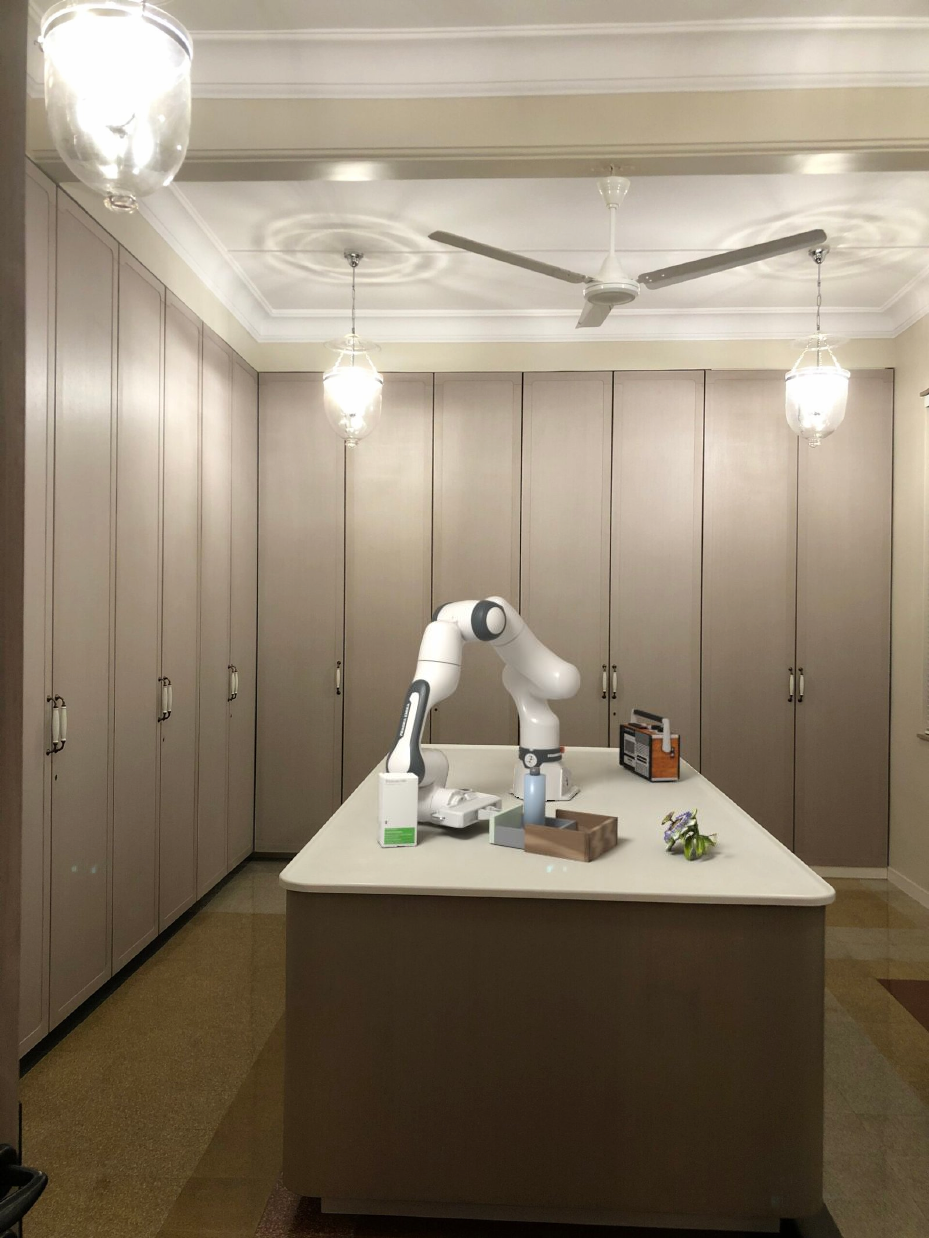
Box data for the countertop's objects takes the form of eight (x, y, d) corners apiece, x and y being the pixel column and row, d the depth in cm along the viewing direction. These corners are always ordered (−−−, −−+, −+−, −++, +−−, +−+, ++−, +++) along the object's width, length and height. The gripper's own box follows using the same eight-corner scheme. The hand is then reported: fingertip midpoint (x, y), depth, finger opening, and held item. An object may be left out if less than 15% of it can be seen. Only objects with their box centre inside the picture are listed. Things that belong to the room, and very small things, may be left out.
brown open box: (556, 834, 203) (557, 808, 203) (617, 843, 195) (617, 817, 195) (524, 851, 188) (524, 824, 188) (588, 862, 180) (588, 833, 180)
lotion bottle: (529, 832, 200) (529, 765, 200) (548, 835, 197) (549, 767, 197) (519, 837, 195) (520, 768, 195) (539, 840, 193) (540, 770, 193)
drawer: (518, 829, 206) (518, 803, 206) (576, 838, 199) (576, 811, 199) (489, 843, 194) (489, 816, 194) (550, 853, 186) (550, 824, 186)
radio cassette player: (617, 767, 292) (618, 708, 292) (646, 766, 294) (647, 708, 294) (650, 784, 263) (651, 719, 263) (682, 783, 265) (683, 719, 265)
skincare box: (381, 848, 189) (382, 778, 189) (376, 840, 196) (376, 772, 196) (418, 846, 192) (419, 776, 191) (412, 838, 198) (413, 771, 198)
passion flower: (669, 876, 189) (655, 824, 196) (718, 868, 189) (703, 816, 196) (672, 859, 180) (658, 805, 187) (724, 851, 180) (708, 797, 186)
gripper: (426, 802, 199) (479, 810, 192) (471, 787, 216) (520, 793, 209) (426, 829, 199) (478, 838, 192) (470, 812, 216) (520, 819, 209)
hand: (500, 814), depth 201 cm, fingers closed
